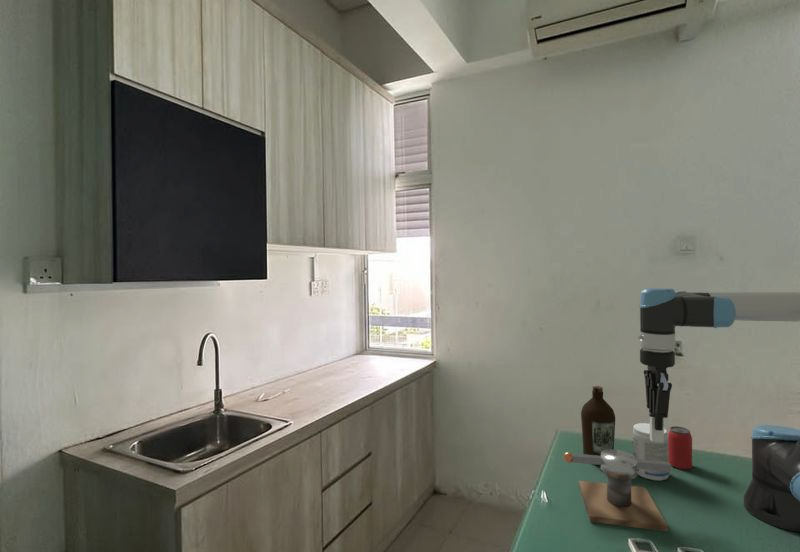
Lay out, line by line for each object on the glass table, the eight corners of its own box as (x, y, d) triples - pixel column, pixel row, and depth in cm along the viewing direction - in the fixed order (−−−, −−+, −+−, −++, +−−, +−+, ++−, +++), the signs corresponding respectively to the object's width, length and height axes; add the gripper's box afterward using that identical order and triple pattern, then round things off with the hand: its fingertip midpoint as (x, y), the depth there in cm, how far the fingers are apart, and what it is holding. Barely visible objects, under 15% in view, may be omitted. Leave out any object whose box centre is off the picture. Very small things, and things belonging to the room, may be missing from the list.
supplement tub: (674, 475, 130) (674, 429, 129) (659, 485, 125) (659, 437, 124) (642, 463, 138) (642, 420, 138) (627, 472, 133) (627, 427, 132)
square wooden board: (645, 492, 121) (644, 459, 121) (667, 531, 104) (667, 493, 103) (578, 485, 126) (578, 454, 125) (590, 521, 108) (589, 485, 108)
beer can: (665, 465, 137) (665, 429, 136) (671, 458, 141) (671, 424, 141) (689, 472, 132) (689, 435, 131) (694, 465, 136) (694, 429, 136)
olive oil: (576, 452, 147) (575, 382, 147) (607, 452, 147) (606, 382, 146) (588, 466, 137) (588, 392, 136) (621, 466, 136) (621, 391, 135)
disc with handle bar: (663, 467, 116) (663, 453, 115) (676, 484, 107) (676, 469, 107) (561, 458, 122) (561, 444, 122) (565, 473, 114) (565, 459, 114)
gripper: (633, 343, 112) (633, 429, 113) (648, 354, 99) (648, 450, 100) (664, 344, 110) (664, 431, 111) (684, 355, 97) (683, 453, 98)
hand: (656, 440), depth 105 cm, fingers closed
